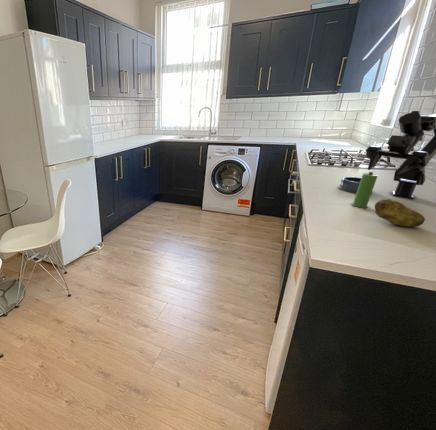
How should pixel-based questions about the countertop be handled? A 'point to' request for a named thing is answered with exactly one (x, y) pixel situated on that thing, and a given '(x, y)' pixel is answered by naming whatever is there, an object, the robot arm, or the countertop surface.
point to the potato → (398, 213)
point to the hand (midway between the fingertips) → (381, 171)
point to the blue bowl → (350, 184)
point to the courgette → (365, 190)
